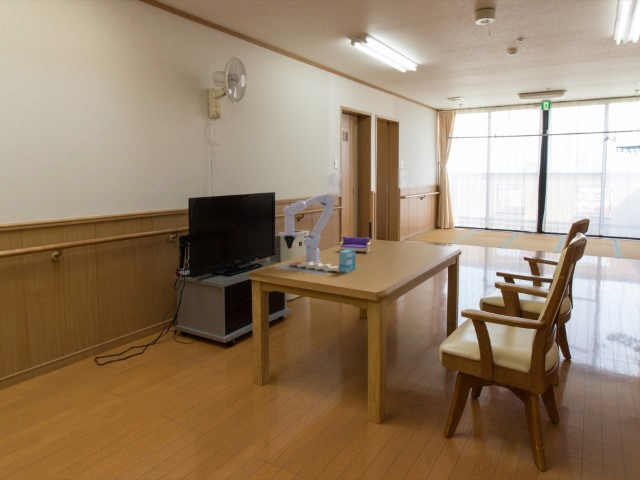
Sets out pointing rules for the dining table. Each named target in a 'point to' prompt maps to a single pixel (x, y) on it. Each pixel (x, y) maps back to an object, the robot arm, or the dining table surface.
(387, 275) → the dining table surface
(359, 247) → the toy sofa
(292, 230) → the robot arm
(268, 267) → the dining table surface
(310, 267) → the tile
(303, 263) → the beige rectangular block
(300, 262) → the tile
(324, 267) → the tile
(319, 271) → the mat
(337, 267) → the tile
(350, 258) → the data package
